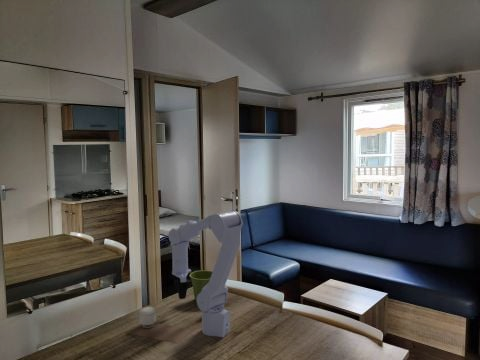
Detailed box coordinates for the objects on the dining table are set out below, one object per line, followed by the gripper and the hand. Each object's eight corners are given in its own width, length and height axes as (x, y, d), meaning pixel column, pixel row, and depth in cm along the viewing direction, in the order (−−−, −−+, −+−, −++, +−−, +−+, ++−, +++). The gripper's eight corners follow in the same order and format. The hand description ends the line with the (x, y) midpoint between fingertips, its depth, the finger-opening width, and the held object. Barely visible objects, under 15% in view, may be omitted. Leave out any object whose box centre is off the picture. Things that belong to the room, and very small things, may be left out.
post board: (191, 332, 131) (191, 315, 130) (177, 346, 121) (176, 328, 121) (144, 323, 138) (143, 307, 137) (126, 335, 129) (126, 318, 128)
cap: (159, 320, 133) (158, 310, 133) (145, 326, 129) (145, 315, 129) (150, 316, 137) (150, 305, 137) (137, 321, 133) (136, 310, 133)
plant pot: (206, 308, 151) (206, 281, 150) (184, 302, 157) (183, 276, 156) (223, 298, 161) (222, 272, 160) (201, 293, 167) (200, 268, 166)
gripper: (194, 263, 134) (194, 300, 135) (187, 253, 148) (187, 286, 149) (174, 265, 132) (175, 303, 133) (169, 255, 146) (169, 289, 147)
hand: (180, 294), depth 141 cm, fingers open, 7 cm apart
